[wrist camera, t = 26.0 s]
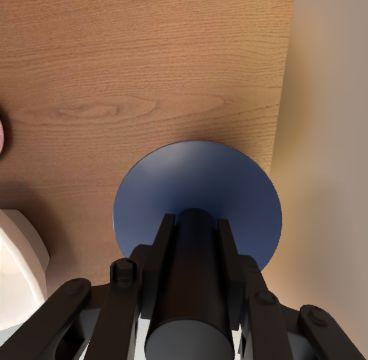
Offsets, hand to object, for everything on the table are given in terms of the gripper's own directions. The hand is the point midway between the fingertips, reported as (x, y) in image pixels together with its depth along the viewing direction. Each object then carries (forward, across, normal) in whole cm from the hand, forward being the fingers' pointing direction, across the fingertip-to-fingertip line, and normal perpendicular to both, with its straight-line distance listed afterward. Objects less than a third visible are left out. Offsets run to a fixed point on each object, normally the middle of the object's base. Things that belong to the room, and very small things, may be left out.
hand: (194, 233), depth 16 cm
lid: (+2, 0, 0) cm, 2 cm away
